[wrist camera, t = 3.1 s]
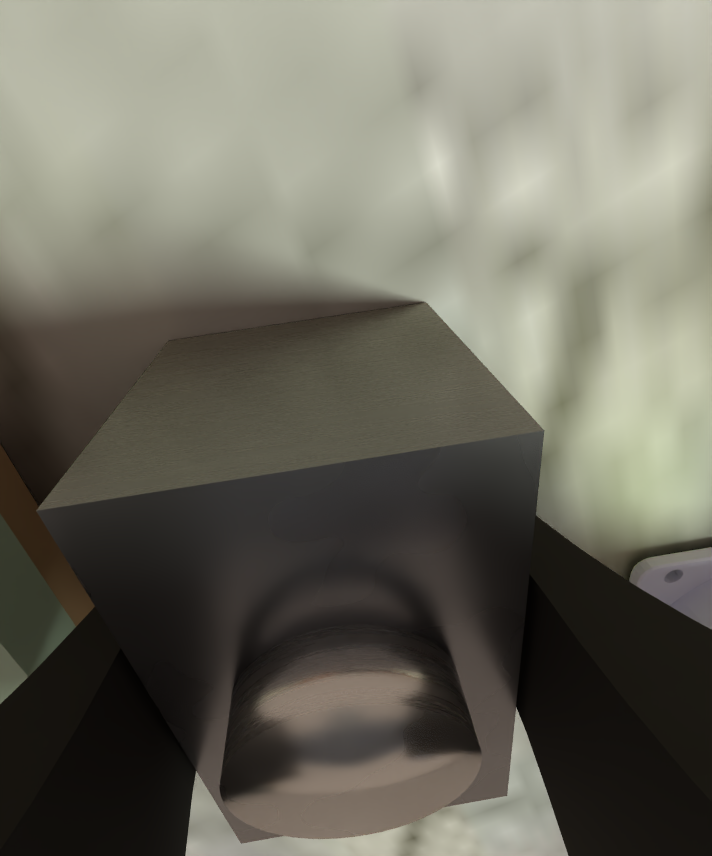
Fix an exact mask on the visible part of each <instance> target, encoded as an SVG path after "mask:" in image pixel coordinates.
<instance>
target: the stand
mask: <svg viewBox="0 0 712 856" xmlns="http://www.w3.org/2000/svg"><path fill="white" fill-rule="evenodd" d="M38 508H39V507H38V505H37V503H36V502H35V500H34V498H33V497H32V495H31V494H30V492H29V490H28V489H27V487H26V485H25V484H24V482H23V480H22V479H21V477H20V475H19V474H18V472H17V471H16V469H15V467H14V466H13V464H12V462H11V461H10V459H9V457H8V456H7V454H6V452H5V451H4V449H3V448H2V446H1V444H0V704H1V703H2V702H3V701H4V700H5V699H6V698H7V697H8V696H9V695H10V694H11V693H12V692H13V691H14V690H15V689H16V688H17V687H18V686H19V685H20V684H21V683H23V682H24V681H25V680H26V679H27V678H28V677H29V676H30V675H31V674H32V673H33V672H34V671H35V670H36V669H37V668H38V667H39V666H40V665H41V663H42V662H43V661H44V660H45V659H46V658H47V657H48V656H49V655H50V654H51V653H52V652H53V651H54V650H55V649H56V648H57V646H58V645H59V644H60V643H61V642H62V641H63V640H64V639H65V638H66V637H67V636H68V635H69V634H70V633H71V632H72V631H73V629H74V628H75V627H76V626H77V625H78V624H79V623H80V622H81V621H82V620H83V619H84V618H85V617H86V616H87V615H88V613H89V612H90V611H91V610H92V609H93V608H94V607H95V606H94V604H93V602H92V601H91V599H90V597H89V596H88V594H87V593H86V591H85V589H84V588H83V586H82V584H81V583H80V581H79V580H78V578H77V576H76V575H75V573H74V571H73V570H72V568H71V567H70V565H69V563H68V562H67V560H66V558H65V557H64V555H63V554H62V552H61V550H60V549H59V547H58V545H57V544H56V542H55V541H54V539H53V537H52V536H51V534H50V533H49V531H48V529H47V528H46V526H45V524H44V523H43V521H42V520H41V518H40V516H39V515H38V513H37V511H36V510H37V509H38Z"/></svg>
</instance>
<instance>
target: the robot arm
mask: <svg viewBox="0 0 712 856" xmlns="http://www.w3.org/2000/svg"><path fill="white" fill-rule="evenodd" d="M516 707H517V710H518V712H519V715H520V717H521V720H522V722H523V725H524V727H525V730H526V732H527V735H528V738H529V741H530V744H531V746H532V749H533V752H534V755H535V758H536V761H537V764H538V767H539V770H540V772H541V775H542V778H543V781H544V784H545V787H546V790H547V793H548V795H549V798H550V801H551V804H552V807H553V810H554V813H555V816H556V819H557V822H558V825H559V828H560V831H561V834H562V837H563V840H564V843H565V846H566V849H567V852H568V855H569V856H712V547H709V548H703V549H697V550H691V551H685V552H679V553H673V554H667V555H661V556H655V557H649V558H646V559H643V560H642V561H640V562H638V563H637V564H636V565H635V566H634V568H633V570H632V572H631V575H630V579H629V581H628V580H626V579H624V578H623V577H621V576H620V575H618V574H617V573H615V572H614V571H612V570H611V569H609V568H608V567H606V566H605V565H603V564H602V563H600V562H599V561H597V560H596V559H594V558H593V557H591V556H590V555H588V554H587V553H586V552H584V551H583V550H581V549H580V548H579V547H577V546H576V545H574V544H573V543H572V542H570V541H569V540H568V539H566V538H565V537H564V536H562V535H561V534H560V533H558V532H557V531H556V530H554V529H553V528H552V527H550V526H549V525H548V524H546V523H545V522H544V521H542V520H541V519H540V518H538V517H537V516H536V515H535V525H534V535H533V545H532V555H531V565H530V574H529V584H528V594H527V604H526V614H525V624H524V633H523V643H522V653H521V663H520V673H519V683H518V692H517V702H516ZM195 774H196V769H195V768H194V766H193V764H192V763H191V761H190V760H189V758H188V756H187V755H186V753H185V751H184V750H183V748H182V747H181V745H180V743H179V742H178V740H177V739H176V737H175V735H174V734H173V732H172V730H171V729H170V727H169V726H168V724H167V722H166V721H165V719H164V717H163V716H162V714H161V713H160V711H159V709H158V708H157V706H156V704H155V703H154V701H153V700H152V698H151V696H150V695H149V693H148V691H147V690H146V688H145V687H144V685H143V683H142V682H141V680H140V678H139V677H138V675H137V674H136V672H135V670H134V669H133V667H132V666H131V664H130V662H129V661H128V659H127V657H126V656H125V654H124V653H123V651H122V649H121V648H120V646H119V644H118V643H117V641H116V640H115V638H114V636H113V635H112V633H111V631H110V630H109V628H108V627H107V625H106V623H105V622H104V620H103V618H102V617H101V615H100V614H99V612H98V610H97V609H96V607H94V608H93V609H92V610H91V611H90V612H89V613H88V615H87V616H86V617H85V618H84V619H83V620H82V621H81V622H80V623H79V624H78V625H77V626H76V627H75V628H74V629H73V631H72V632H71V633H70V634H69V635H68V636H67V637H66V638H65V639H64V640H63V641H62V642H61V643H60V644H59V645H58V646H57V648H56V649H55V650H54V651H53V652H52V653H51V654H50V655H49V656H48V657H47V658H46V659H45V660H44V661H43V662H42V663H41V665H40V666H39V667H38V668H37V669H36V670H35V671H34V672H33V673H32V674H31V675H30V676H29V677H28V678H27V679H26V680H25V681H24V682H23V683H21V684H20V685H19V686H18V687H17V688H16V689H15V690H14V691H13V692H12V693H11V694H10V695H9V696H8V697H7V698H6V699H5V700H4V701H3V702H2V703H1V704H0V856H185V853H186V844H187V835H188V827H189V818H190V809H191V800H192V792H193V786H194V780H195Z"/></svg>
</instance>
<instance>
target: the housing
mask: <svg viewBox="0 0 712 856" xmlns="http://www.w3.org/2000/svg"><path fill="white" fill-rule="evenodd" d="M543 437H544V430H543V429H542V428H541V427H540V425H539V424H538V423H537V422H536V421H535V420H534V419H533V418H532V417H531V416H530V415H529V413H528V412H527V411H526V410H525V409H524V408H523V407H522V406H521V405H520V404H519V403H518V402H517V400H516V399H515V398H514V397H513V396H512V395H511V394H510V393H509V392H508V391H507V390H506V388H505V387H504V386H503V385H502V384H501V383H500V382H499V381H498V380H497V379H496V378H495V377H494V375H493V374H492V373H491V372H490V371H489V370H488V369H487V368H486V367H485V366H484V365H483V363H482V362H481V361H480V360H479V359H478V358H477V357H476V356H475V355H474V354H473V353H472V352H471V350H470V349H469V348H468V347H467V346H466V345H465V344H464V343H463V342H462V341H461V340H460V338H459V337H458V336H457V335H456V334H455V333H454V332H453V331H452V330H451V329H450V328H449V327H448V325H447V324H446V323H445V322H444V321H443V320H442V319H441V318H440V317H439V316H438V315H437V313H436V312H435V311H434V310H433V309H432V308H431V307H430V306H429V305H428V304H427V303H426V302H425V303H418V304H412V305H405V306H398V307H392V308H385V309H378V310H372V311H365V312H358V313H351V314H345V315H338V316H331V317H325V318H318V319H311V320H305V321H298V322H291V323H284V324H278V325H271V326H264V327H258V328H251V329H244V330H238V331H231V332H224V333H217V334H211V335H204V336H197V337H191V338H184V339H177V340H171V341H168V342H167V344H166V345H165V346H164V347H163V349H162V350H161V351H160V353H159V354H158V355H157V356H156V358H155V359H154V360H153V362H152V363H151V364H150V365H149V367H148V368H147V369H146V371H145V372H144V373H143V374H142V376H141V377H140V378H139V379H138V381H137V382H136V383H135V385H134V386H133V387H132V388H131V390H130V391H129V392H128V394H127V395H126V396H125V397H124V399H123V400H122V401H121V403H120V404H119V405H118V406H117V408H116V409H115V410H114V412H113V413H112V414H111V415H110V417H109V418H108V419H107V421H106V422H105V423H104V424H103V426H102V427H101V428H100V429H99V431H98V432H97V433H96V435H95V436H94V437H93V438H92V440H91V441H90V442H89V444H88V445H87V446H86V447H85V449H84V450H83V451H82V453H81V454H80V455H79V456H78V458H77V459H76V460H75V462H74V463H73V464H72V465H71V467H70V468H69V469H68V471H67V472H66V473H65V474H64V476H63V477H62V478H61V479H60V481H59V482H58V483H57V485H56V486H55V487H54V488H53V490H52V491H51V492H50V494H49V495H48V496H47V497H46V499H45V500H44V501H43V503H42V504H41V505H40V506H39V508H38V509H37V510H36V511H37V513H38V515H39V516H40V518H41V520H42V521H43V523H44V524H45V526H46V528H47V529H48V531H49V533H50V534H51V536H52V537H53V539H54V541H55V542H56V544H57V545H58V547H59V549H60V550H61V552H62V554H63V555H64V557H65V558H66V560H67V562H68V563H69V565H70V567H71V568H72V570H73V571H74V573H75V575H76V576H77V578H78V580H79V581H80V583H81V584H82V586H83V588H84V589H85V591H86V593H87V594H88V596H89V597H90V599H91V601H92V602H93V604H94V606H95V607H96V609H97V610H98V612H99V614H100V615H101V617H102V618H103V620H104V622H105V623H106V625H107V627H108V628H109V630H110V631H111V633H112V635H113V636H114V638H115V640H116V641H117V643H118V644H119V646H120V648H121V649H122V651H123V653H124V654H125V656H126V657H127V659H128V661H129V662H130V664H131V666H132V667H133V669H134V670H135V672H136V674H137V675H138V677H139V678H140V680H141V682H142V683H143V685H144V687H145V688H146V690H147V691H148V693H149V695H150V696H151V698H152V700H153V701H154V703H155V704H156V706H157V708H158V709H159V711H160V713H161V714H162V716H163V717H164V719H165V721H166V722H167V724H168V726H169V727H170V729H171V730H172V732H173V734H174V735H175V737H176V739H177V740H178V742H179V743H180V745H181V747H182V748H183V750H184V751H185V753H186V755H187V756H188V758H189V760H190V761H191V763H192V764H193V766H194V768H195V769H196V771H197V773H198V774H199V776H200V777H201V779H202V781H203V782H204V784H205V786H206V787H207V789H208V790H209V792H210V794H211V795H212V797H213V799H214V800H215V802H216V803H217V805H218V807H219V808H220V810H221V812H222V813H223V815H224V816H225V818H226V820H227V821H228V823H229V824H230V826H231V828H232V829H233V831H234V833H235V834H236V836H237V837H238V839H239V841H240V842H241V843H247V842H252V841H258V840H263V839H269V838H274V837H280V836H290V837H297V838H311V839H330V838H345V837H355V836H361V835H368V834H373V833H377V832H382V831H386V830H390V829H393V828H397V827H400V826H403V825H406V824H409V823H412V822H414V821H417V820H419V819H422V818H424V817H426V816H428V815H430V814H432V813H434V812H436V811H438V810H440V809H441V808H443V807H447V806H452V805H458V804H464V803H469V802H475V801H480V800H486V799H491V798H497V797H503V796H507V791H508V781H509V771H510V761H511V751H512V742H513V732H514V722H515V712H516V702H517V692H518V683H519V673H520V663H521V653H522V643H523V633H524V624H525V614H526V604H527V594H528V584H529V574H530V565H531V555H532V545H533V535H534V525H535V515H536V506H537V496H538V486H539V476H540V466H541V456H542V447H543Z"/></svg>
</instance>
